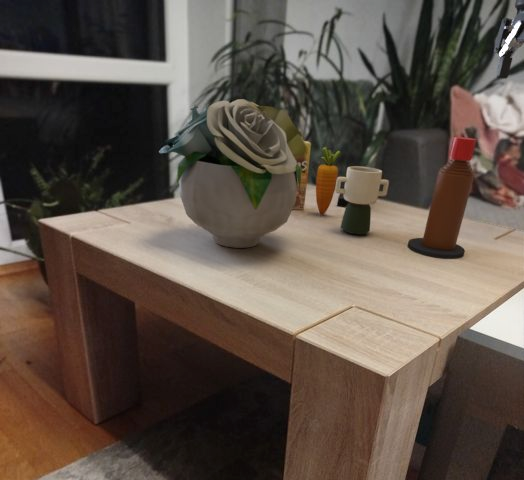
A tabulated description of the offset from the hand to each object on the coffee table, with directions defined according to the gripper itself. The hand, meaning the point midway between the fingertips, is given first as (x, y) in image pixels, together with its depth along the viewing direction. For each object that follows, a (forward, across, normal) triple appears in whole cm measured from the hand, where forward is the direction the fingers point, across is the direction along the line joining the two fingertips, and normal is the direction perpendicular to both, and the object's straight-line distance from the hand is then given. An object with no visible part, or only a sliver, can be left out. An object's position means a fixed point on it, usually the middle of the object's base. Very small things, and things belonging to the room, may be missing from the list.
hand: (517, 78), depth 99 cm
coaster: (+31, +9, -18) cm, 37 cm away
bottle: (+30, +9, -17) cm, 36 cm away
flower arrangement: (+31, 0, -57) cm, 64 cm away
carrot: (+31, -18, -30) cm, 47 cm away
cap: (+14, +9, -17) cm, 24 cm away
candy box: (+30, -26, -37) cm, 54 cm away
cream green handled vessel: (+31, -4, -29) cm, 43 cm away
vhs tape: (+31, -32, -15) cm, 46 cm away
